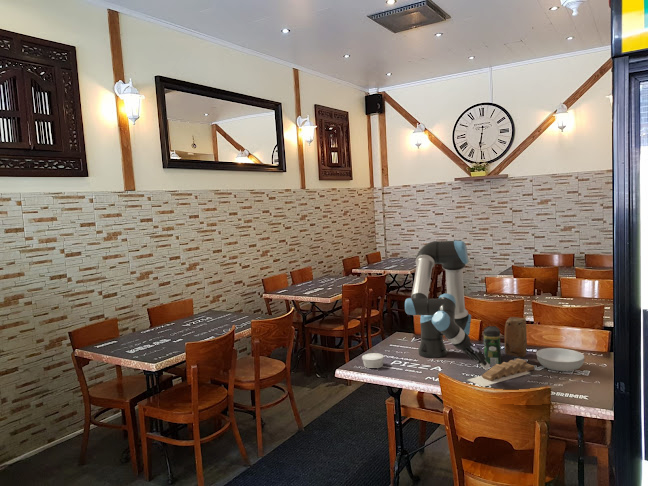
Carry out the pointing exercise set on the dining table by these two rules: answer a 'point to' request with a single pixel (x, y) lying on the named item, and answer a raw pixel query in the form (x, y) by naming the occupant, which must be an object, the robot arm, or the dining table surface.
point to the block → (515, 337)
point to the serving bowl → (560, 359)
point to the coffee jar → (492, 345)
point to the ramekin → (373, 360)
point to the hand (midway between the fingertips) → (487, 367)
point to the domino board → (484, 382)
